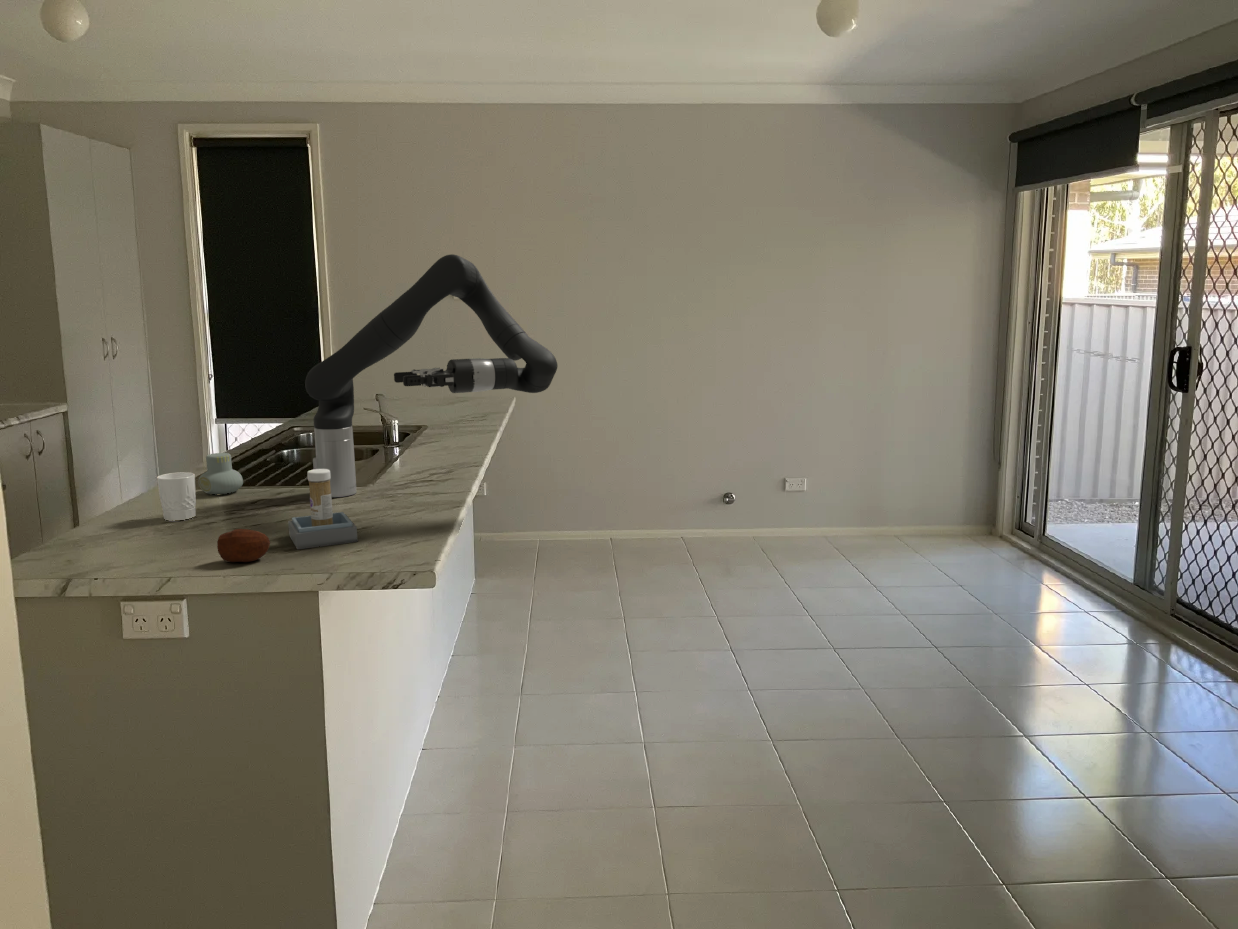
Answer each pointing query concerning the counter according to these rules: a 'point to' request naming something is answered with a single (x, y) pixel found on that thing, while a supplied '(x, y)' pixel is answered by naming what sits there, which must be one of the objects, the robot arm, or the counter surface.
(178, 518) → the white cup
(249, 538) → the potato
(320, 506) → the sprinkles bottle
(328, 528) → the blue square tray
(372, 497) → the counter surface
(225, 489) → the air freshener
